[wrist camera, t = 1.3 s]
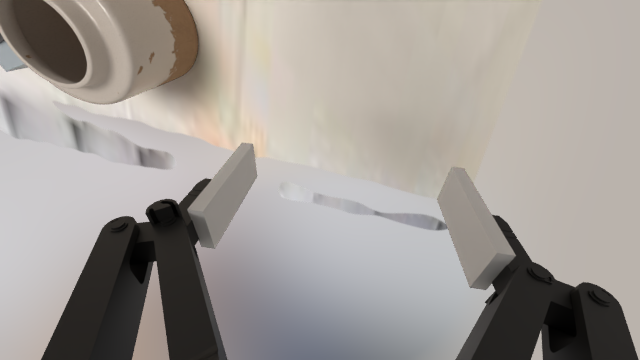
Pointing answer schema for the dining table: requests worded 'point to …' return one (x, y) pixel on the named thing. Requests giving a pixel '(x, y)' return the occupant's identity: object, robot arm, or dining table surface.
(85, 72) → the vase
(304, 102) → the dining table surface
